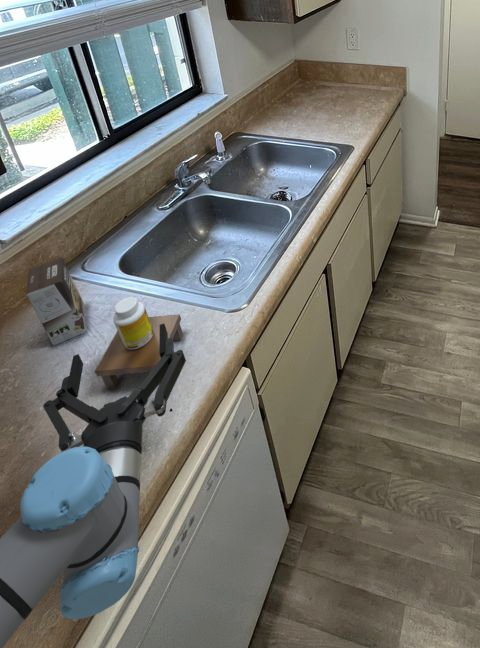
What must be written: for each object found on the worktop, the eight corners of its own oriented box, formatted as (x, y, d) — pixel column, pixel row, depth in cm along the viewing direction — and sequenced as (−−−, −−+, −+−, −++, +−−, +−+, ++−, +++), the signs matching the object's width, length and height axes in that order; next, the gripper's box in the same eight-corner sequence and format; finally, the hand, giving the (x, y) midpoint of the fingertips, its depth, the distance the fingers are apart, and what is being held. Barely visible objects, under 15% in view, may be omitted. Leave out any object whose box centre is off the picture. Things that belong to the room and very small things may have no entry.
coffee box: (86, 332, 101) (62, 281, 94) (52, 346, 97) (24, 295, 91) (86, 305, 108) (63, 255, 101) (54, 318, 104) (28, 267, 97)
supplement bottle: (159, 334, 93) (147, 300, 89) (134, 355, 89) (119, 320, 84) (144, 322, 96) (131, 289, 91) (118, 343, 91) (103, 308, 87)
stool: (103, 390, 88) (94, 371, 86) (131, 337, 99) (123, 319, 97) (165, 384, 89) (157, 365, 87) (185, 332, 100) (179, 314, 98)
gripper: (13, 527, 60) (47, 387, 77) (209, 435, 70) (200, 330, 87) (-10, 498, 56) (30, 359, 74) (199, 406, 66) (191, 303, 84)
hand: (122, 343), depth 80 cm, fingers open, 13 cm apart
